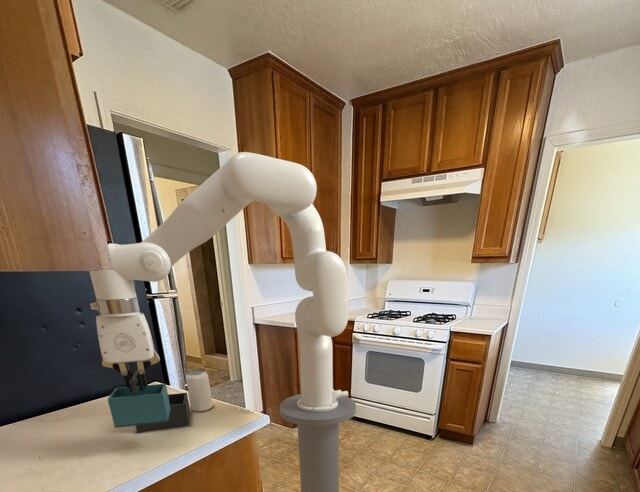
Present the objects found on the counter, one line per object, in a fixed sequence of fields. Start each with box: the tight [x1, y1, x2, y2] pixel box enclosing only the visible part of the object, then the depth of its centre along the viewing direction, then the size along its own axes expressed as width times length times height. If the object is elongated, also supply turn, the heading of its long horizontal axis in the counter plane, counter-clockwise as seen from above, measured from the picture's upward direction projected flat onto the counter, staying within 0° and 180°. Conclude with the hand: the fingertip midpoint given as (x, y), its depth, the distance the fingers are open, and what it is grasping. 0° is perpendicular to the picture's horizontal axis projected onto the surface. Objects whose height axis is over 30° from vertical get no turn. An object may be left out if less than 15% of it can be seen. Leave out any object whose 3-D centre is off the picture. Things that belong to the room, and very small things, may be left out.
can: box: [185, 368, 213, 413], centre depth 108 cm, size 6×6×12 cm
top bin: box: [107, 369, 171, 429], centre depth 83 cm, size 11×8×11 cm
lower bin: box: [135, 392, 191, 434], centre depth 100 cm, size 13×10×7 cm
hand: (138, 389), depth 82 cm, fingers closed on top bin, 1 cm apart
